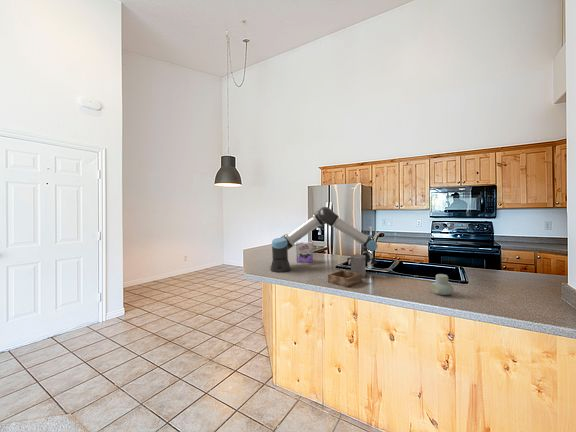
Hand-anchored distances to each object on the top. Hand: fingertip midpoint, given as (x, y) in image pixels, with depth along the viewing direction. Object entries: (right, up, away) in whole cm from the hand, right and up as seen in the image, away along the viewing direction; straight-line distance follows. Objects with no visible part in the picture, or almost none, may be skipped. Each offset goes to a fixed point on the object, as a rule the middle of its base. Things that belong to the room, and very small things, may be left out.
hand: (359, 263), depth 185 cm
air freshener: (+35, -10, -38) cm, 52 cm away
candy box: (-34, -7, +47) cm, 58 cm away
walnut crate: (-12, -9, -13) cm, 21 cm away
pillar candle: (0, -8, 0) cm, 9 cm away
